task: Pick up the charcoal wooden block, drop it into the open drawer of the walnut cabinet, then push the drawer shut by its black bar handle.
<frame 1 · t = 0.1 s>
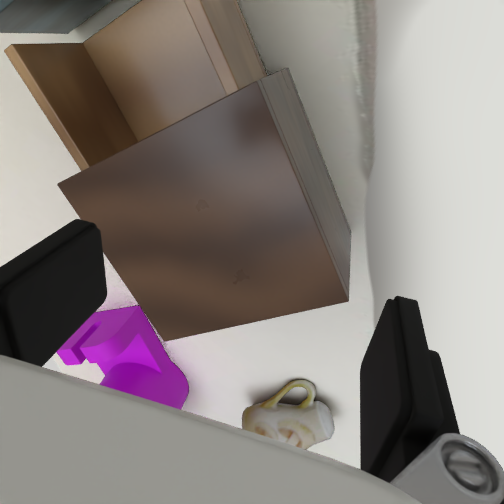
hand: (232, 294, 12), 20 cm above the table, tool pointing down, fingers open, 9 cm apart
drawer: (127, 26, 23), point 5 cm above the table, slide at 9.0 cm
mug: (292, 404, 43), on the table
tape dispenser: (142, 360, 46), on the table
cabinet: (240, 189, 31), on the table
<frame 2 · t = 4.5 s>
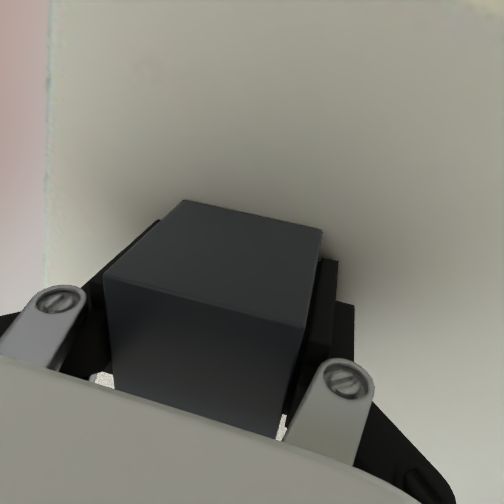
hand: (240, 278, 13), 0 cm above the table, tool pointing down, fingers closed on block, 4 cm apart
block: (243, 272, 13), on the table, touching gripper
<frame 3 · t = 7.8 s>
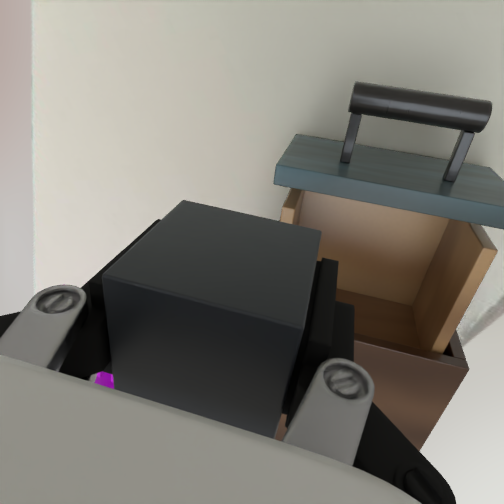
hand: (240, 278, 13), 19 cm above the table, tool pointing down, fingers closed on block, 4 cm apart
drawer: (375, 224, 25), point 5 cm above the table, slide at 9.0 cm
cabinet: (335, 322, 36), on the table
block: (242, 273, 13), point 18 cm above the table, touching gripper
when the fingers open (9 cm above the table, at t = 11.0 s): block drops 7 cm, resting on drawer.
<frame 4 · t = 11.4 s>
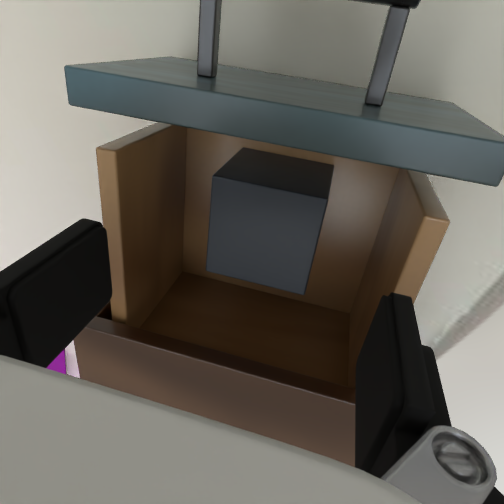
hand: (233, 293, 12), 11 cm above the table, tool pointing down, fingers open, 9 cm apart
drawer: (274, 188, 16), point 5 cm above the table, slide at 9.0 cm, touching block
cabinet: (259, 333, 27), on the table
block: (280, 199, 19), point 2 cm above the table, touching drawer
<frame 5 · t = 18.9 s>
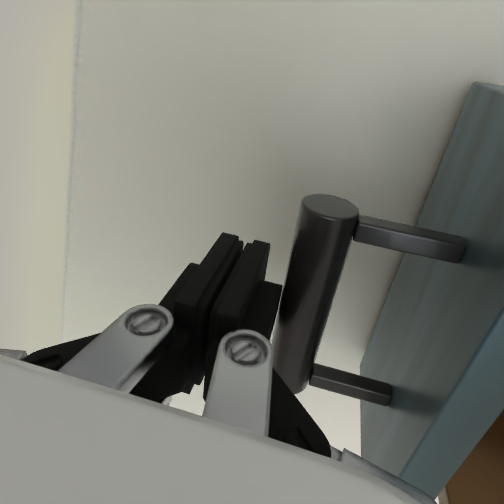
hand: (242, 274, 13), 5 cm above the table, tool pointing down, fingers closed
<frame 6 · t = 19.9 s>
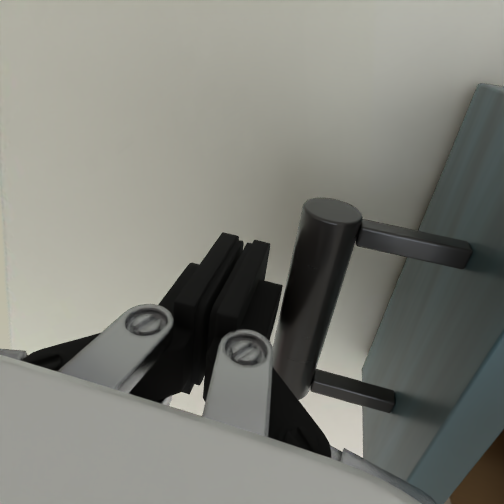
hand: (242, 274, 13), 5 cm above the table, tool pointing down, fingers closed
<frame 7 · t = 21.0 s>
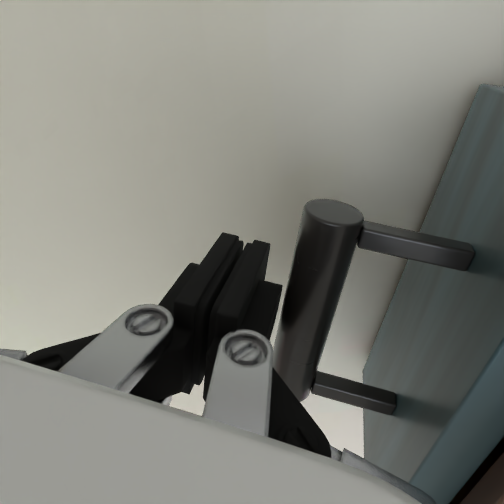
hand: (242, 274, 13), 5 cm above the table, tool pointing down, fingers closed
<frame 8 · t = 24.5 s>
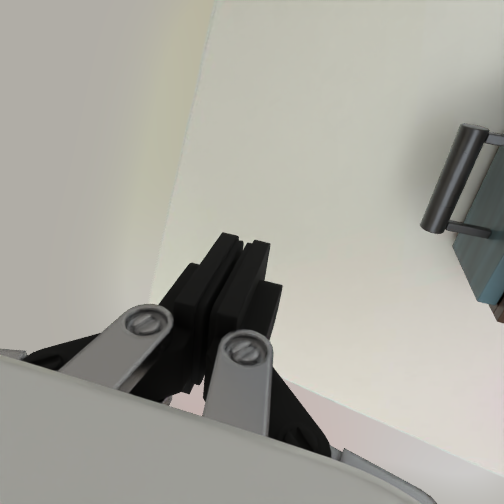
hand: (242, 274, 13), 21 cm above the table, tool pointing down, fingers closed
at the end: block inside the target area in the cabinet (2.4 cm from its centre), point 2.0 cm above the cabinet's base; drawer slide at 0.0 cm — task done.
